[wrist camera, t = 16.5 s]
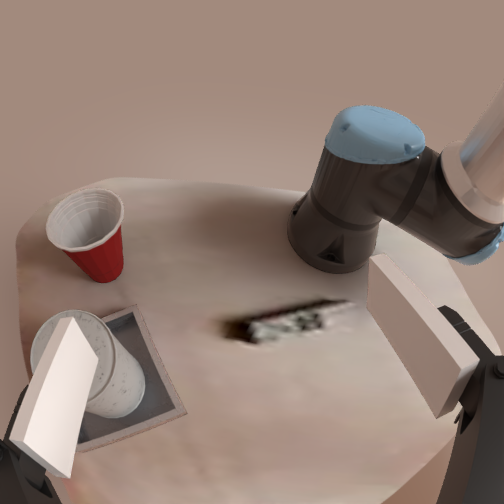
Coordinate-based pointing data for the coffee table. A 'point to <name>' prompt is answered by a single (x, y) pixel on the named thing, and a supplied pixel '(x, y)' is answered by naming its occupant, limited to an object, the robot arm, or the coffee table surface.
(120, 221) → the plastic cup
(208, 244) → the coffee table surface
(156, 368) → the grey square tray
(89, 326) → the speckled white cylinder
